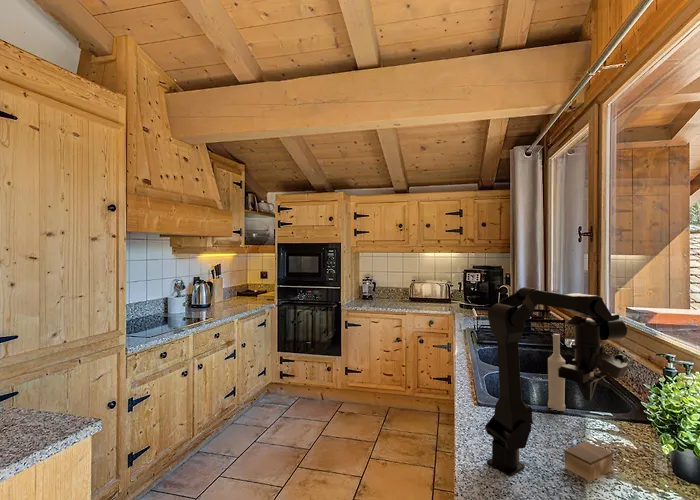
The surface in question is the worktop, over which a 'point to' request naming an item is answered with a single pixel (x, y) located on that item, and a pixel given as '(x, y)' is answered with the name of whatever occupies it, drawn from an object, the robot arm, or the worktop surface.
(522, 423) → the robot arm
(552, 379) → the bottle
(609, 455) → the birch block
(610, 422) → the worktop surface
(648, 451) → the worktop surface
